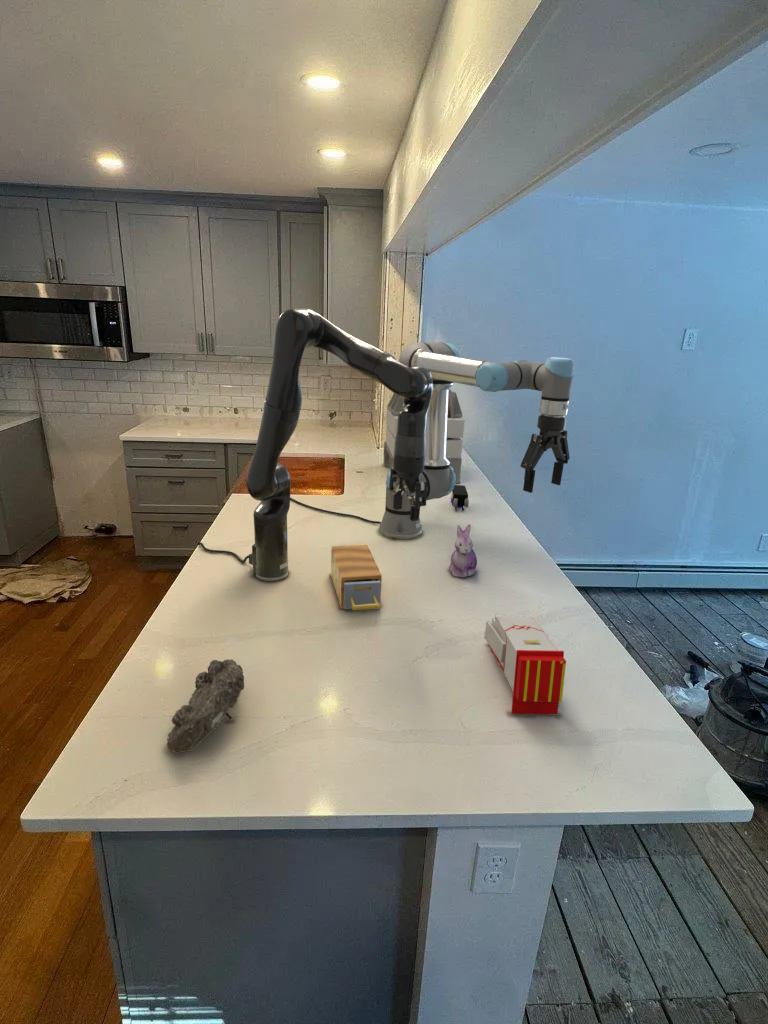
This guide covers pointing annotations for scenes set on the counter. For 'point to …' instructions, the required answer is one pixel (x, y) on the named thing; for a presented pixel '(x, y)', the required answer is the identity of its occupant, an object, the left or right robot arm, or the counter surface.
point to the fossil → (206, 705)
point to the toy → (527, 663)
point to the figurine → (463, 554)
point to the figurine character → (459, 497)
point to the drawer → (362, 594)
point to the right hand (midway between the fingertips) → (542, 487)
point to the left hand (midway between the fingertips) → (405, 514)
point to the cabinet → (352, 567)
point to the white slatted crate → (453, 432)
